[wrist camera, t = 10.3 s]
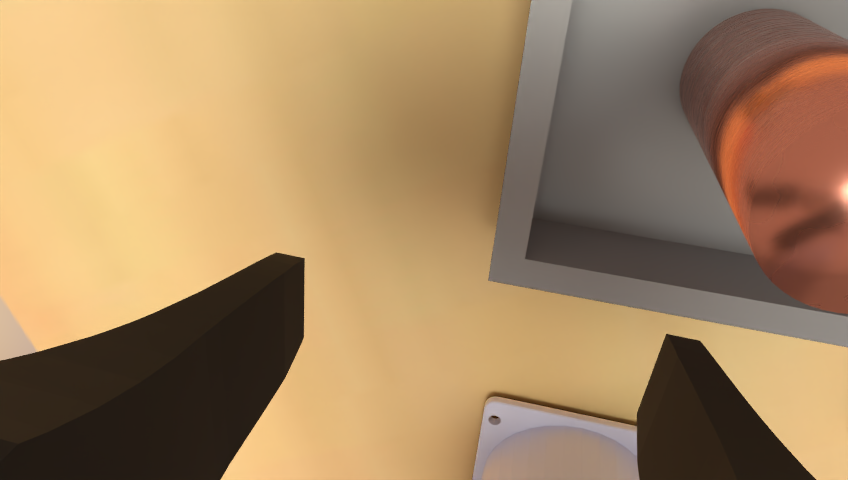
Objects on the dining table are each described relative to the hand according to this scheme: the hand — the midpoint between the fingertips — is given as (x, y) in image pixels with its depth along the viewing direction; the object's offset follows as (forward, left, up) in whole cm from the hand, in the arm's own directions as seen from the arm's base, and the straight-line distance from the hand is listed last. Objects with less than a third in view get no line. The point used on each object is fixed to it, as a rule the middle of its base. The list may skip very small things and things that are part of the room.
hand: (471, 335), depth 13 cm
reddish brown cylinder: (+4, -6, -10) cm, 12 cm away
